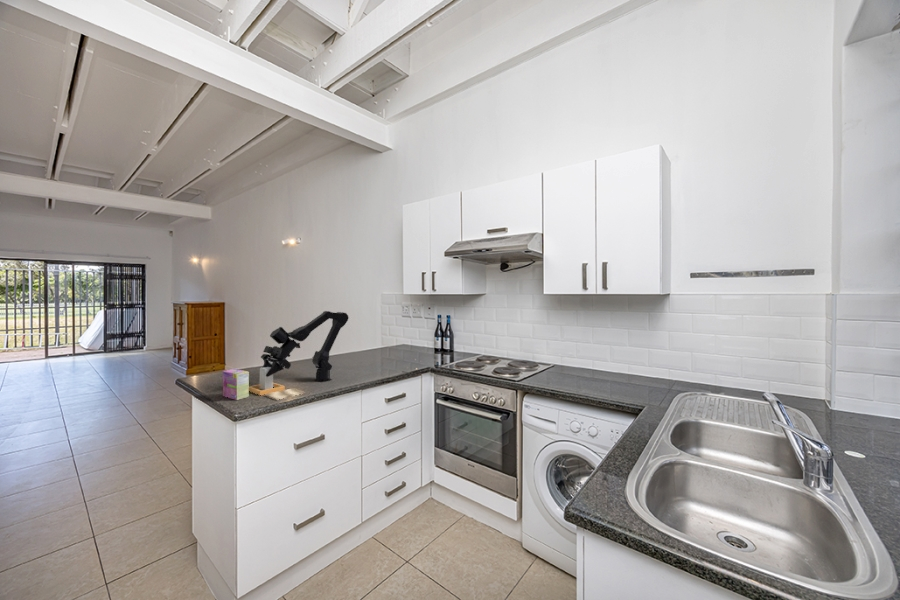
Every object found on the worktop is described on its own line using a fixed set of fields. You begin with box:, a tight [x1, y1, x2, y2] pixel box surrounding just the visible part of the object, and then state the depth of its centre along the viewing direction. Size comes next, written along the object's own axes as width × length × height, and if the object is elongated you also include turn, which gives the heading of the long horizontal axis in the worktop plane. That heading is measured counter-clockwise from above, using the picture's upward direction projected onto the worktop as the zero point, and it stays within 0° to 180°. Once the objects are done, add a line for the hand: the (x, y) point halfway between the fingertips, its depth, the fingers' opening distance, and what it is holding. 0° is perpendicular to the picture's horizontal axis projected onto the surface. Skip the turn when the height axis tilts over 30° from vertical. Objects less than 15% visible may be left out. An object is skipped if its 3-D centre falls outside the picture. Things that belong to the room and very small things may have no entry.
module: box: [259, 366, 274, 390], centre depth 176 cm, size 4×5×10 cm
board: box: [264, 387, 306, 401], centre depth 171 cm, size 14×10×1 cm
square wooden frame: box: [249, 382, 286, 396], centre depth 176 cm, size 12×12×2 cm
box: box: [222, 368, 250, 401], centre depth 165 cm, size 10×6×12 cm, turn 62°
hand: (263, 375), depth 175 cm, fingers closed on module, 5 cm apart
